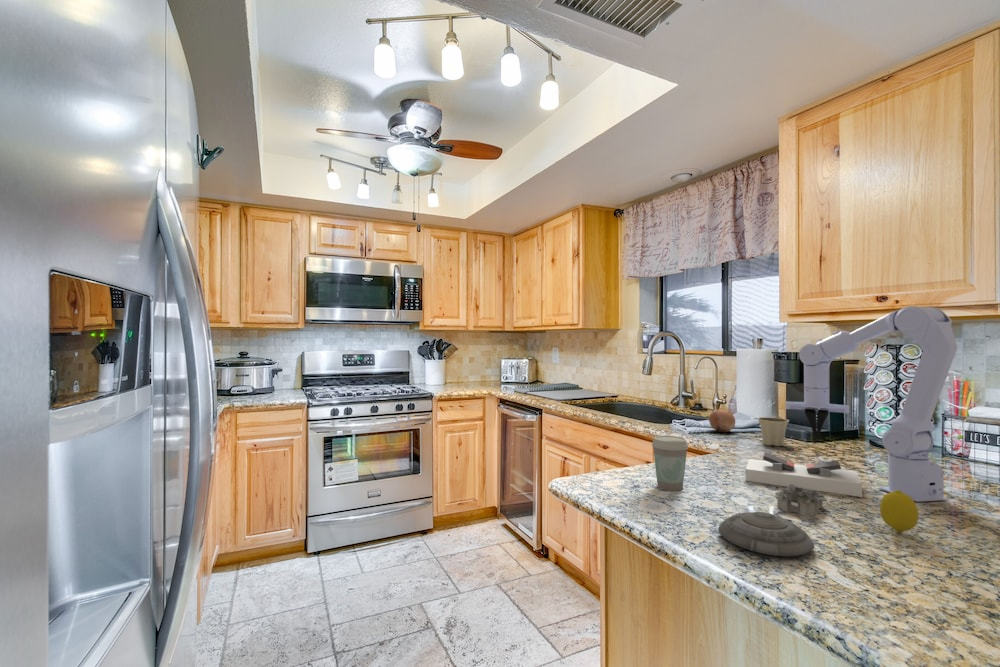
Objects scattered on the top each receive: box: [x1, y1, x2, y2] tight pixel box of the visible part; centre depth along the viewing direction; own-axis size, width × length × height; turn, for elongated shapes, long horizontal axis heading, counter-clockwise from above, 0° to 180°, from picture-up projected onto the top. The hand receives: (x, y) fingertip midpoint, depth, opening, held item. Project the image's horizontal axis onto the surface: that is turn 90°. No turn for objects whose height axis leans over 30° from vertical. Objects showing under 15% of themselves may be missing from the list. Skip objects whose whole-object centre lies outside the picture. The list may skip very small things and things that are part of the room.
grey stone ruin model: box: [774, 484, 825, 517], centre depth 103 cm, size 11×8×4 cm
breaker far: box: [762, 451, 795, 472], centre depth 124 cm, size 7×5×2 cm
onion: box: [708, 407, 736, 434], centre depth 186 cm, size 10×9×10 cm
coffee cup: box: [651, 435, 689, 492], centre depth 117 cm, size 8×8×12 cm
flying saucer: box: [718, 511, 815, 557], centre depth 85 cm, size 15×15×6 cm
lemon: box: [879, 490, 919, 534], centre depth 90 cm, size 6×6×8 cm
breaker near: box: [805, 459, 842, 473], centre depth 119 cm, size 7×5×2 cm
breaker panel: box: [745, 457, 863, 498], centre depth 121 cm, size 24×12×5 cm, turn 58°
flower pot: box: [757, 416, 790, 447], centre depth 164 cm, size 9×9×9 cm
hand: (816, 437), depth 131 cm, fingers closed
